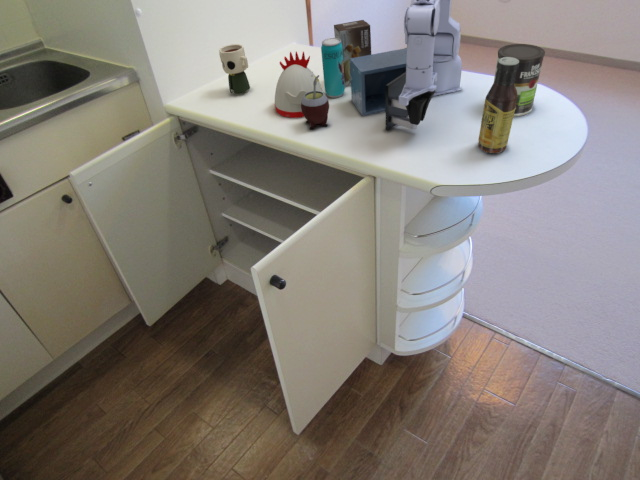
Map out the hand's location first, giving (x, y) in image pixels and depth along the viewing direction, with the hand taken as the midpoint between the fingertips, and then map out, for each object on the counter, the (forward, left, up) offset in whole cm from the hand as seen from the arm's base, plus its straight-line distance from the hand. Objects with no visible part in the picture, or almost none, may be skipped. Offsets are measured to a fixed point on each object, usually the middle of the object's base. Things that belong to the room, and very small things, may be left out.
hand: (416, 121), depth 110 cm
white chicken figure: (+23, -28, -4) cm, 36 cm away
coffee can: (-27, -4, -4) cm, 27 cm away
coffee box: (+4, -38, -4) cm, 38 cm away
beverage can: (+12, -31, -4) cm, 33 cm away
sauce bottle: (-13, +12, -4) cm, 18 cm away
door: (-3, -6, -3) cm, 8 cm away
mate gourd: (+21, -15, -4) cm, 26 cm away
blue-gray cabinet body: (+1, -20, -3) cm, 20 cm away
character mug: (+38, -46, -4) cm, 60 cm away
